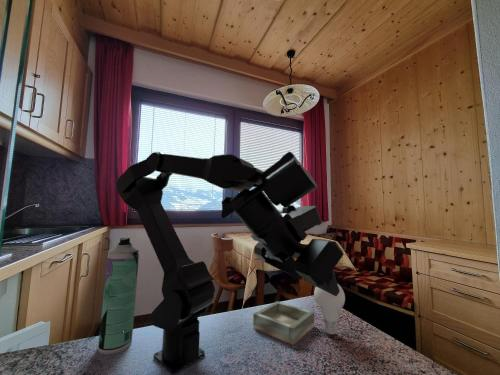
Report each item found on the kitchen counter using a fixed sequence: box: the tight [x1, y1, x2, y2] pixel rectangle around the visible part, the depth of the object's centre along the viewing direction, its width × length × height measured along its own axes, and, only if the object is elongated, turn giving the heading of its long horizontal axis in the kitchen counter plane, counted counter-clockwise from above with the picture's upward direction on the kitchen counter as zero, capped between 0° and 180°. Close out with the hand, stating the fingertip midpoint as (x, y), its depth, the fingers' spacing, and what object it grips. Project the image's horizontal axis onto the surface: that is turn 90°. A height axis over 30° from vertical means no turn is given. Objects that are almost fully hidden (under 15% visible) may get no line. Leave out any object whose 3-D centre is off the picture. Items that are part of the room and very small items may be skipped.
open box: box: [252, 300, 315, 346], centre depth 50 cm, size 10×10×3 cm
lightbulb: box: [313, 283, 346, 336], centre depth 48 cm, size 6×6×11 cm
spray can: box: [97, 237, 140, 355], centre depth 43 cm, size 6×6×20 cm
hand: (317, 284), depth 39 cm, fingers open, 9 cm apart
